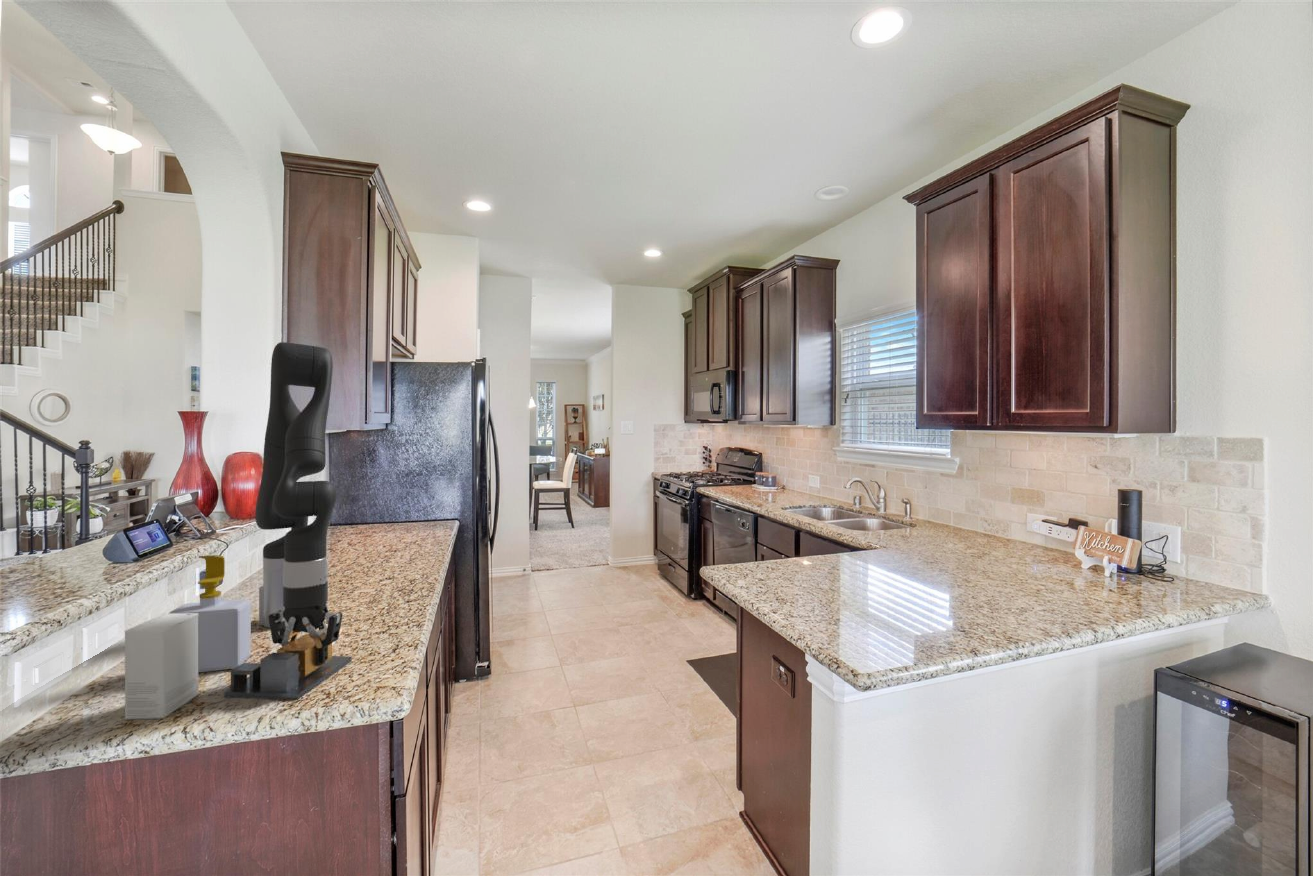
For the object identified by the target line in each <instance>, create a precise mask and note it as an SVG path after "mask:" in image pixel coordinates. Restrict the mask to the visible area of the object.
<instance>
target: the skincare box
mask: <svg viewBox="0 0 1313 876" xmlns="http://www.w3.org/2000/svg"><path fill="white" fill-rule="evenodd" d="M198 615H199V614H198V613H174V614H168V613H162V614H160V615H157V616H155V617H154V618H151V619H148V620H147V621H144V622H142V623H140V624H137V625H134V626H132V627H131V628H129V629H126V630H124V690H125V691H124V704H125V705H124V709H125V710H124V711H125V712H124V718H125V719H124V720H147V719H149V720H150V719H151V720H152V719H153V720H155V719H157V720H158V719H165V718H167V716H169V715H171V714H172V713H173V712H174V711H176V710H178V709H179V708H181V707H182V706H184V705H185V704H187V703H188V702H189V701H191V700H193V699H194V698H195V697H197V696H198V695H199V672H198Z"/></svg>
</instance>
